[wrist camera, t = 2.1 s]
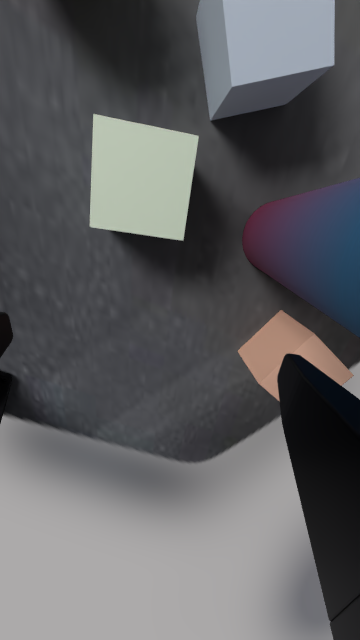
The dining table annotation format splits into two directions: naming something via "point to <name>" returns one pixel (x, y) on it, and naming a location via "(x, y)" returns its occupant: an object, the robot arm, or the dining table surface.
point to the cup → (312, 248)
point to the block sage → (140, 178)
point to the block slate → (262, 51)
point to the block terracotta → (288, 338)
